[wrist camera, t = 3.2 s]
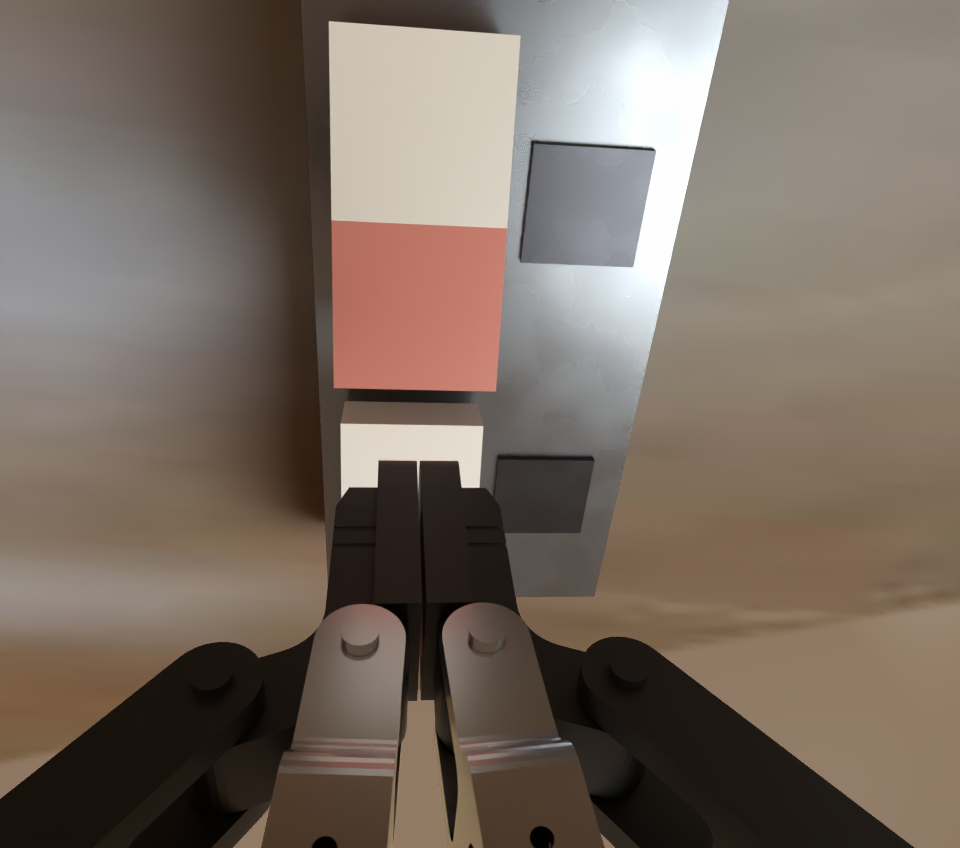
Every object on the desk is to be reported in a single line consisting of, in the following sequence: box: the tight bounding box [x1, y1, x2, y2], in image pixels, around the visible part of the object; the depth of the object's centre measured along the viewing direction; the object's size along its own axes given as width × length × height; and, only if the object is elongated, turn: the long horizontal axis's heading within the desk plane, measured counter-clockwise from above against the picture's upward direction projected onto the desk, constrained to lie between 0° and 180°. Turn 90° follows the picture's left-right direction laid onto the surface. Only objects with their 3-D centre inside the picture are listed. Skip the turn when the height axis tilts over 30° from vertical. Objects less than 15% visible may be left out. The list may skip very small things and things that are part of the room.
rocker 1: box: [329, 21, 521, 392], centre depth 18 cm, size 4×8×2 cm, turn 175°
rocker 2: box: [341, 401, 483, 656], centre depth 24 cm, size 4×8×2 cm, turn 175°
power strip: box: [301, 0, 729, 597], centre depth 22 cm, size 10×30×4 cm, turn 175°
